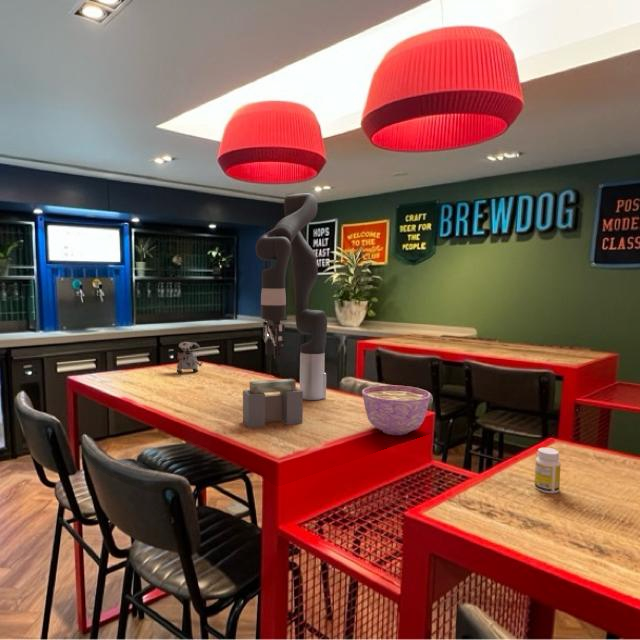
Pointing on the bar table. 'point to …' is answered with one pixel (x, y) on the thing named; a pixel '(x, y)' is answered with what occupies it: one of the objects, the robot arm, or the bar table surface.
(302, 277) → the robot arm
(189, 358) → the figurine
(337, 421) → the bar table surface
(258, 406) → the grey hollow block
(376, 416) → the bowl of food
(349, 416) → the bar table surface
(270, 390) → the rail
